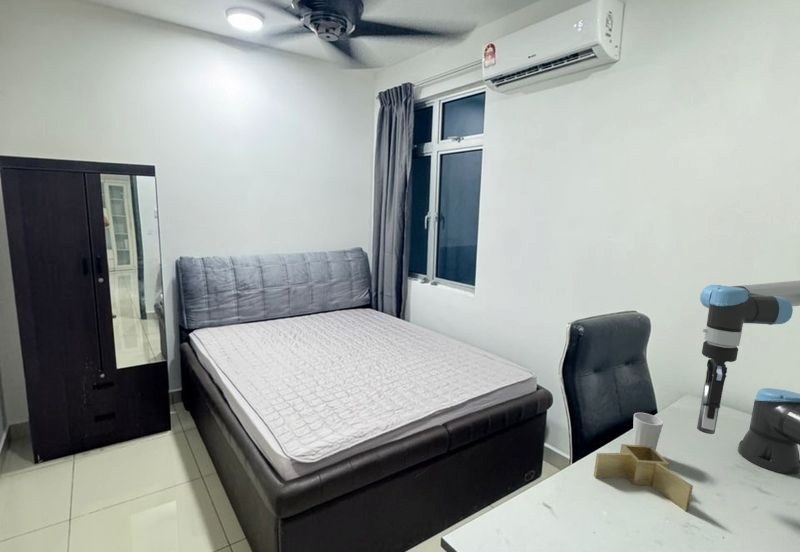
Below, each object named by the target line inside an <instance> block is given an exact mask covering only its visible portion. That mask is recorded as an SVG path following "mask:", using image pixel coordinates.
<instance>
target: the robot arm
mask: <svg viewBox="0 0 800 552" xmlns="http://www.w3.org/2000/svg"><path fill="white" fill-rule="evenodd" d="M699 299H700V303H701V304H702V306H703V307H704V308H707V309H708V313H707V321H706V328H703V329H702V332H703V333H704V338H703V339H704V340H705V341H703V343H702V350H701V354H702V355H703V357H706V358H708V360H707V363H706V366H707V368H706V377H705V382H704V384H705V383H709V390H708V397H707V403H703V405H705V409H704V415H703V420H702V428H706V429H710V430H714V427H715V422H716V416H717V410H718V409H719V410H720V408H721V401H722V396H723V390H724V386H725V382H726V378H727V373H728V367H726V363H727V362H728V363H733V362H735V361H736V360H737V358H738V353H739V348H738V346H740V345H741V344H740V342H741V338H742V337H741V336H742V331H743V327H744V326H743V325H744V324H753V325H754V324H757V325H768V326H772V325H782V324H785V323H787V322H788V321H790V320H791V318H792V317H793V316H792V315H793V310H794V309H793V307H799V306H800V280H789V281H779V282H766V283H755V284H744V285H731V286H730V285H729V286H728V285H719V284H709V285H707V286H705V287H704V288H703V289H702V290H701V292H700V296H699ZM716 423H717V422H716ZM799 446H800V393H798V392H794V391H790V390H785V389H778V388H770V387H769V388H768V387H765V388H764V387H763V388H760V389H759V390H758V391H757V392H756V396H755V398H754V402H753V408H752V412H751V420H750V425H749V429H748V430H747V432H746V433H745V435H744V437H743V439H742V440H740V441H739V443H738V446H737V451H738V452H737V453H739V455H741V456H742V457H743V458H744V459H746V460H747V461H749V462H750V463H753V464H755V465H757V466H758V467H760V468H764V469H767V470H770V471H773V472H777V473H779V474H780V473H781V474H789V475H794V474H795V475H796V474H799V473H800V451H799Z"/></svg>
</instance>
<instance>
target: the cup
mask: <svg viewBox="0 0 800 552" xmlns="http://www.w3.org/2000/svg"><path fill="white" fill-rule="evenodd" d="M632 424H633V426H632V427H633V429H632V441H631V443H632V444H631V445H640V446H651V447H653V448H654V449H655V450H656V449H657V446H658V444H659V439H660V435H661V433H662V428H663V426H664V421H663V420H662V419H660V418H659V417H658V416H656V415H653V414H650V413H645V412H635V413H634V414H633V423H632ZM656 451H657V450H656Z"/></svg>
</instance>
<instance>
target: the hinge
mask: <svg viewBox="0 0 800 552" xmlns="http://www.w3.org/2000/svg"><path fill="white" fill-rule="evenodd" d="M669 468H670V463H669V462H668V461H667V460H666V459H665V458H664V457H663V456H662V455H661V454H660V453H659V452H658V451H657V450H655V449H654V448H653V447H651V446H640V445H632V444H624V443H623V444H621V445H620V451H619V452H601V453H600V452H599V453H596V456H595V464H594V471H593V477H594V478H595V479H607V478H606V477H615V478H627V479H628V480H629V481H630V482H631V483H632V484H633V485H634V486H648V487H651V488H653V489H654V490H656V491H657V492H658V493H660V494H662V496H664V497H665V498H667V499H669V500H670V501H671V502H672V503H673V504H675V505H676V506H677V507H679V508H680V509H682V510H683V511H684V512H687V511H689V509H690V503H691V500H692V494H693V488H694V485H693V484H691V483H689V482H688V481H686V480H685V479H683V478H682V477H680V476H679V475H677V474H676V473H675V472H673V471H671V470H670V469H669ZM603 477H604V478H603Z"/></svg>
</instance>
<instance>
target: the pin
mask: <svg viewBox="0 0 800 552" xmlns="http://www.w3.org/2000/svg"><path fill="white" fill-rule="evenodd" d="M703 385H704V386H703V388H702V389H703V391H702V395H701V396H702V397H701V402H700V406H699V407H700V408H699V414H698V419H697V426H696V429H697V430H698V431H699V432H701V433H705V434H708V435H714V434H715V432H716V429H717V428H716V427H717V421H718V415H719V412H720V411H719V410H720V408H719V409H718V410H717V416H716V422H715V427H714V430H710V429H706V428H702V420H703V415H704V409H705V405H703V403H707V397H708V390H709V383H705V382H704V384H703Z"/></svg>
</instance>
